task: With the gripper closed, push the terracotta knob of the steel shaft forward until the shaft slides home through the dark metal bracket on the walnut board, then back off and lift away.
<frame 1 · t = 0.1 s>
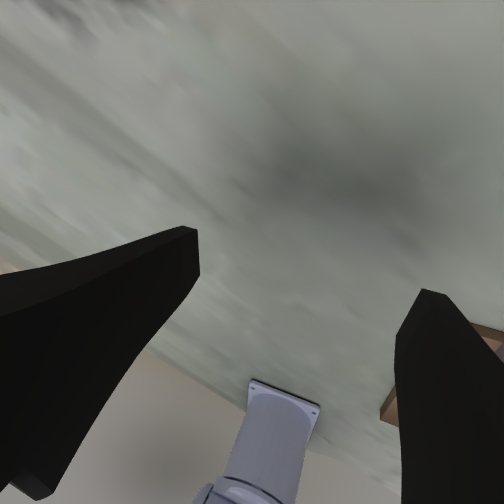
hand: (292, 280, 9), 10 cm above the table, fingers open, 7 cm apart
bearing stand: (501, 387, 20), on the table
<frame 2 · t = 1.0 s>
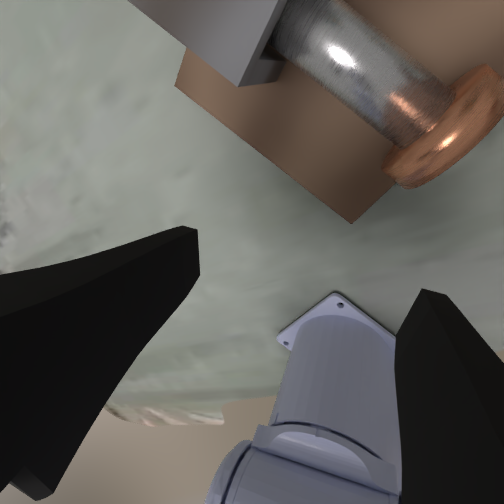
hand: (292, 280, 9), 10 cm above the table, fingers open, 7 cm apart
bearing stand: (311, 26, 13), on the table
shaft: (356, 66, 10), point 3 cm above the table, slide at 6.0 cm
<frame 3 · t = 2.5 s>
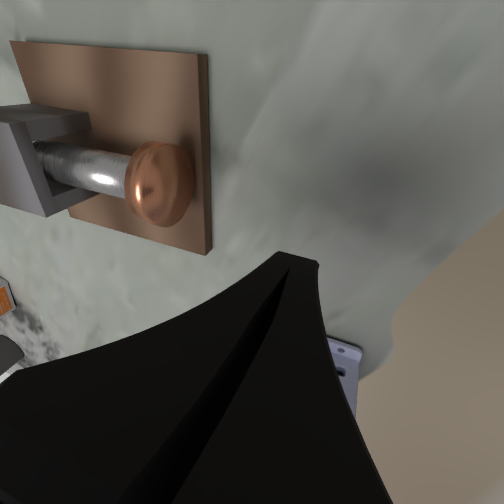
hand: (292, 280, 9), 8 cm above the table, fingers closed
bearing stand: (109, 151, 20), on the table
bottle: (12, 345, 52), on the table
skincare box: (3, 287, 40), on the table
shaft: (105, 172, 16), point 4 cm above the table, slide at 6.0 cm
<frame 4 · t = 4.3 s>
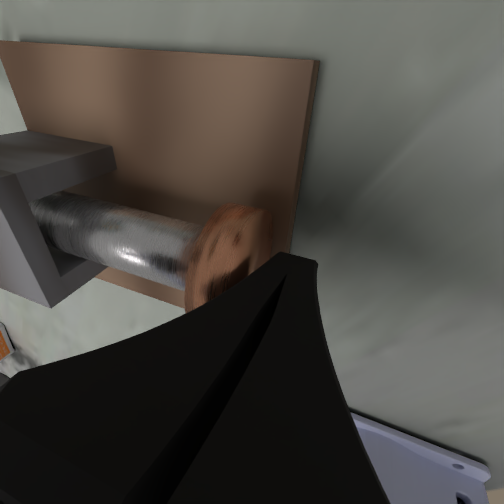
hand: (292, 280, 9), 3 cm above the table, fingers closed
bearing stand: (138, 195, 14), on the table
bottle: (11, 382, 47), on the table
shaft: (138, 242, 10), point 3 cm above the table, slide at 5.9 cm, touching gripper
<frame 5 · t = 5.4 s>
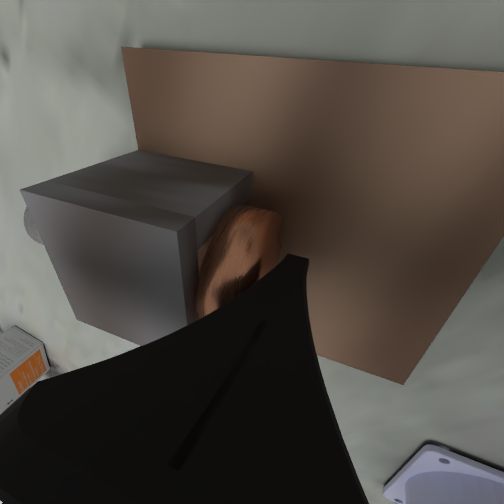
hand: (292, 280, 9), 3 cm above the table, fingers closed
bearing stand: (257, 222, 12), on the table
skincare box: (35, 345, 32), on the table
shaft: (146, 244, 10), point 4 cm above the table, slide at -0.1 cm, touching gripper
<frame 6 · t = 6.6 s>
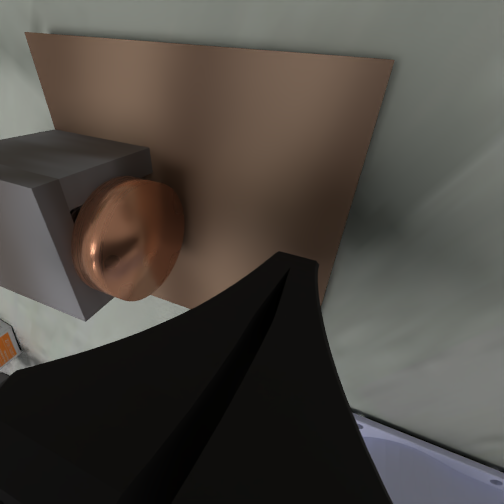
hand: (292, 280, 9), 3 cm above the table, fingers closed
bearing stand: (170, 199, 13), on the table
skincare box: (6, 330, 33), on the table
shaft: (57, 214, 11), point 4 cm above the table, slide at 0.0 cm
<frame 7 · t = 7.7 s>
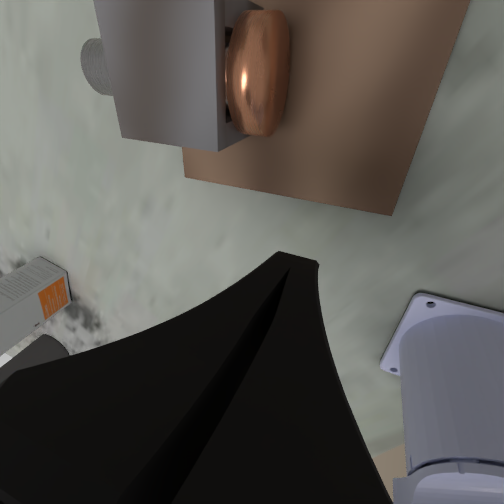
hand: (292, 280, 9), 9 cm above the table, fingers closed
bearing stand: (266, 76, 15), on the table
bottle: (56, 345, 48), on the table
skincare box: (58, 278, 35), on the table
shaft: (180, 73, 13), point 4 cm above the table, slide at 0.0 cm
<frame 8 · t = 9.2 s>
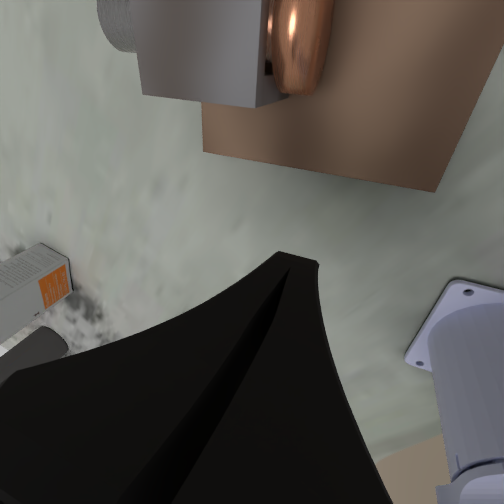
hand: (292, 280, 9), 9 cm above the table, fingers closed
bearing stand: (301, 34, 13), on the table
bottle: (55, 338, 46), on the table
skincare box: (59, 266, 33), on the table
shaft: (209, 22, 11), point 4 cm above the table, slide at 0.0 cm
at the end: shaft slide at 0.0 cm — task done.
